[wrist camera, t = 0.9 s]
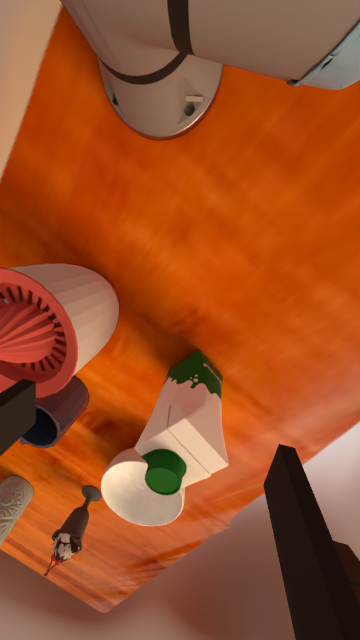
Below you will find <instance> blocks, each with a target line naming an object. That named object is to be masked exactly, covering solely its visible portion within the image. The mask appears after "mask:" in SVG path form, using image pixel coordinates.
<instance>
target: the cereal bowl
mask: <svg viewBox="0 0 360 640" xmlns="http://www.w3.org/2000/svg"><path fill="white" fill-rule="evenodd" d="M147 467H148V465H147V462H146V461H145V460H144V459H143V458H142V457H141V455H140V454H139V453H138V452H137V451H136V450H135V447H133V448H129V449H127V450H124V451H122V452H121V453H119V454H118V455H117V456H115V457H114V458H113V460H112V461H111V462H110V464H109V465H108V467H107V468H106V470H105V472H104V474H103V477H102V480H101V493H102V496H103V498H104V500H105V502H106V503H107V505H108V506H109V507H110V508H111V509H112V511H114V512H115V513H116V514H117V515H119V516H120V517H122V518H124V519H125V520H127V521H130V522H132V523H135V524H139V525H144V526H161V525H165V524H168V523H170V522H172V521H173V520H175V519H176V518H177V517H178V516H179V515H180V513H181V511H182V509H183V505H184V498H185V487H184V488H181V489H180V490H179V491H178V492H177V493H175V494H173V495H160V494H157V493H155V492H153V491H152V490H151V489H150V488H149V487H148V486H147V484H146V482H145V474H146V470H147Z"/></svg>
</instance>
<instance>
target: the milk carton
mask: <svg viewBox="0 0 360 640" xmlns="http://www.w3.org/2000/svg"><path fill="white" fill-rule="evenodd" d="M222 379H223V377H222V376H221V375H220V374H219V372H218V371H217V370H216V369H215V368H214V367H213V365H212V364H211V363H210V362H209V361H208V360H207V358H206V357H205V356H204V355H203V354H202V353H201V351H200V350H199V349H198V350H197V351H195V352H194V353H192V354H191V355H190V356H188V357H187V358H185V359H184V360H182V361H181V362H180V363H178V364H177V365H175V366H174V367H172V368H171V369H170V370H169V372H168V374H167V377H166V380H165V382H164V385H163V387H162V390H161V392H160V395H159V397H158V400H157V402H156V405H155V407H154V410H153V412H152V415H151V417H150V419H149V421H148V423H147V425H146V427H145V429H144V430H143V432H142V434H141V436H140V438H139V440H138V442H137V444H136V446H135V450H136V451H137V452H138V453H139V454H140V455H141V457H142V458H143V459H144V460H145V461H146V462H147V465H148V467H147V470H146V474H145V482H146V484H147V486H148V487H149V488H150V489H151V490H152V491H153V492H155V493H157V494H160V495H173V494H175V493H177V492H178V491H179V490H180V489H181V488H184V487H186V486H188V485H190V484H193V483H195V482H197V481H199V480H201V479H205V478H207V477H209V476H211V474H212V473H214V472H216V471H218V470H220V469H223V468H225V467H227V466H229V464H228V459H227V453H226V448H225V442H224V437H223V431H222V416H221V387H222Z"/></svg>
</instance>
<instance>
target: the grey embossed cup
mask: <svg viewBox="0 0 360 640" xmlns="http://www.w3.org/2000/svg"><path fill="white" fill-rule="evenodd" d="M33 495H34V490H33V487H32V486H31V485H30V483H29V482H27V481H26V480H25V479H23V478H21V477H18V476H9V477H8V478H6V479H5V480H4V481H3V482H2V483H1V484H0V545H1V544H2V542H3V541H4V539H5V538H6V536H7V535H8V533H9V532H10V530H11V529H12V527H13V526H14V524H15V523H16V522H17V519H18V518H19V517H20V516H21V514H22V513H23V511H24V510H25V508H26V506H27V505H28V503H29V502H30V501H31V499H32V498H33Z"/></svg>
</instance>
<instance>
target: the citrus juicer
mask: <svg viewBox="0 0 360 640" xmlns="http://www.w3.org/2000/svg"><path fill="white" fill-rule="evenodd" d="M119 316H120V301H119V298H118V294H117V292H116V290H115V288H114V287H113V286H112V284H111V283H110V282H109V281H108V280H107V279H106V278H105V277H104V276H102V275H100V274H99V273H97V272H96V271H94V270H91V269H89V268H85V267H81V266H77V265H71V264H65V263H56V264H39V265H30V266H22V267H13V268H2V267H0V390H1V391H4V390H6V389H7V388H9V387H11V386H12V385H14V384H15V383H17V382H18V381H20V380H21V379H27V380H31V381H35V382H36V398H41V397H46V396H49V395H51V394H54V393H56V392H58V391H59V390H61V389H62V388H64V386H65V385H66V384H67V383H68V382H69V381H70V380H71V378H72V376H73V375H74V374H75V373H76V372H78V371H79V370H80V369H81V368H82V367H83V366H84V365H85V364H86V363H88V362H89V361H90V360H91V359H92V358H93V357H94V356H95V355H96V354H97V353H98V352H99V351H100V350H101V349H102V348H103V347H104V346H105V345H106V343H107V342H108V341H109V339H110V337H111V336H112V334H113V332H114V330H115V328H116V326H117V324H118V321H119Z"/></svg>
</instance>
